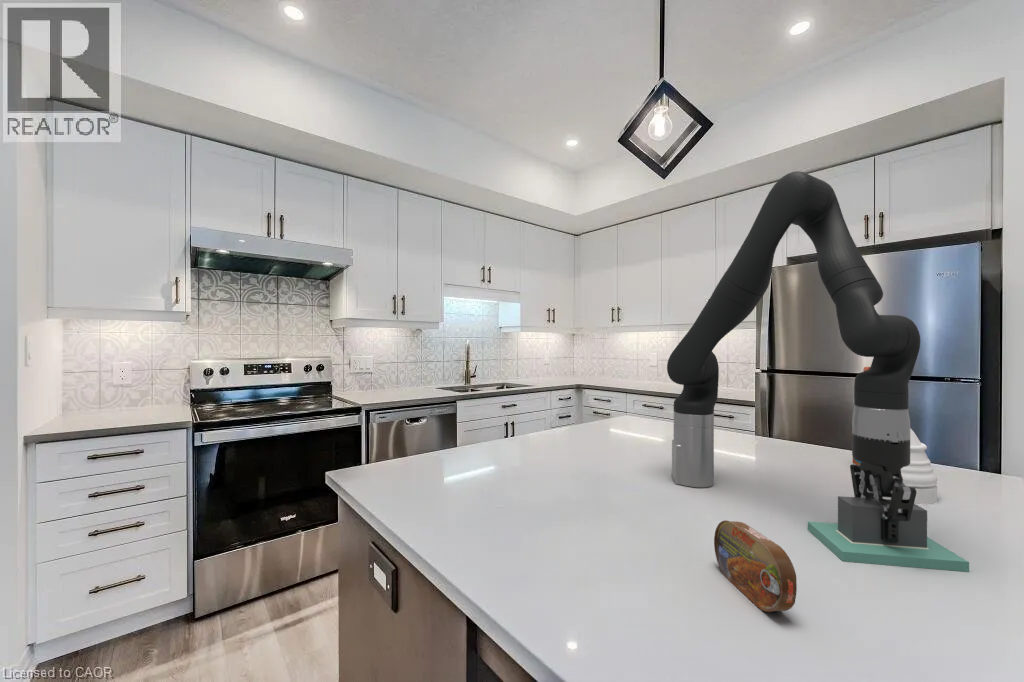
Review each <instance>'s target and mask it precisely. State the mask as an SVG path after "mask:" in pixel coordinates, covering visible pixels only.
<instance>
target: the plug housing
mask: <svg viewBox="0 0 1024 682" xmlns="http://www.w3.org/2000/svg"><path fill="white" fill-rule="evenodd" d="M887 500H891V499H887ZM889 505H890V504H888V505H887V511H888V510H889ZM902 511H903V509H901V513H902ZM837 523H838V531H839V532H840V533H842V534H843V535H844V536H846V537H847V538H848V539H849V540H851V541H852V542H857V543H870V544H883V545H896V546H909V547H921V548H927V537H928V510H927V509H925V508H923V507H921V506H919V505H918V504H914V505H913V509H912V513H911V518H910V521H899V532H898V533H899V539H898V543H886V542H884V541H882V540H881V514H880V507H879V504H877V503H876V502H875V498H868V499H865V498H859V497H855V496H841V495H839V496H837Z"/></svg>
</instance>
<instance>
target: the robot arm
mask: <svg viewBox="0 0 1024 682" xmlns="http://www.w3.org/2000/svg"><path fill="white" fill-rule="evenodd" d="M792 224H793V225H795V226H798V227H800V228H801V229H802V231H803V232H804V233H805V234H806V235H807V236H808V238H809V239H810V241H811V242H812V243H813V246H814V248H815V251H816V256H817V257H816V258H817V267H818V268H817V269H818V273H819V276H820V279H821V281H822V283H823V285H824V287H825V288H826V291H827V293H828V295H829V296H830V298H831V300H832V302H833V303H834V305H835V310H836V318H837V323H838V328H839V329H838V330H839V333H840V337H841V340H842V342H843V343H844V345H845V346H846V347H847V348H848V349H849V350H850V351H851V352H852V353H854V354H855V355H857V356H860V357H866V358H867V357H868V358H871V357H872V361H871V364H870V366H869V367H870V368H869V369H868V370H866V371H863V370H862V372H859V373H857V374H856V376H855V377H854V381H853V382H854V385H853V386H854V387H853V392H854V393H853V399H854V402H853V412H852V420H851V421H852V423H851V424H852V426H851V428H852V429H851V430H852V431H851V432H852V433H851V434H852V437H851V441H852V442H851V446H852V447H851V453H852V454H851V455H852V459H853V458H854V459H856V460H858V461H860V462H861V463H860V465H853V463H852V464H850V466H849V469H850V474H851V475H850V476H851V482H852V487H853V488H852V489H853V494H854V496H853V497H859V498H865V499H868V498H875V502H876V503H877V504H879V507H880V514H881V540H882V541H884V542H886V543H898V539H899V533H898V532H899V521H910V518H911V513H912V509H913V505H914V501H915V497H916V489H915V488H914V487H907V486H906V485H905V484H904V483H903V478H902V475H901V468H903V467H906V466H908V465H909V464H910V428H911V419H910V413H909V382H910V380H911V377H912V374H913V372H914V369H915V366H916V364H917V363H916V362H917V359H918V356H919V353H920V349H921V335H920V330H919V328H918V326H917V325H916V323H915V322H914V321H913V320H912V319H910V318H909V317H906V316H904V315H898V314H896V315H895V314H879V313H878V312H877V311H876V308H875V306H876V305H878V304H879V303H880V302H881V301H882V299H883V297H884V292H883V288H882V285H881V284H880V283H879V282H878V280H877V278H876V276H875V274H874V273H873V271H872V269H871V268H870V267H869V265H868V263H867V261H866V260H865V259H864V257H863V255H862V254H861V251H860V249H858V247H857V244H856V243H855V241H854V239H853V237H852V234H851V232H850V230H849V228H848V226H847V223H846V220H845V218H844V215H843V212H842V210H841V207H840V202H839V201H838V197H837V195H836V192H835V190H834V189H833V187H832V186H831V185H830V184H829V183H827V182H826V181H824V180H822V179H820V178H817V177H815V176H813V175H811V174H809V173H806V172H803V171H797V170H796V171H792V172H789V173H787V174H784V175H783V176H782V177H781V178H779V179H778V180H777V182H776V183H774V185H773V186H772V187H771V189H770V190H769V192H768V194H767V196H766V197H765V200H764V201H763V204H762V206H761V208H760V210H759V211H758V214H757V216H756V217H755V220H754V221H753V224H752V226H751V228H750V230H749V232H748V234H747V235H746V237H745V239H744V241H743V242H742V244H741V246H740V248H739V250H738V251H737V253H736V254H735V257H734V258H733V260H732V261H731V262H730V265H729V266H728V267H727V269H726V270H725V272H724V273H723V276H722V277H721V278H720V280H719V282H718V283H717V285H716V286H715V288H714V290H713V292H712V294H711V295H710V297H709V298H708V300H707V302H706V304H705V305H704V307H703V308H702V310H701V311H700V313H699V314H698V317H697V318H696V319H695V321H694V323H693V324H692V326H691V327H690V328H689V330H688V331H687V332H686V334H685V335H684V336H683V338H682V339H681V340H680V342H679V343H678V344H677V345H676V347H675V348H674V349H673V350H672V352H671V354H670V355H669V357H668V360H667V365H666V371H667V375H668V377H669V379H670V381H672V382H673V383H675V384H677V385H681V386H683V387H682V391H681V393H680V394H679V396H677V397H676V398H675V399H674V400H673V439H672V440H671V478H672V481H674V484H675V485H682V486H685V487H686V486H687V487H692V488H710V487H713V486H714V483H715V413H714V412H715V406H716V404H717V401H718V397H719V376H720V375H719V373H720V371H719V370H720V367H719V362H718V358H717V356H716V354H715V353H714V352H713V351H714V349H715V347H716V346H717V345H718V344H719V342H720V341H721V340H722V339H723V338H724V337H726V336H727V335H728V334H729V333H730V332H731V331H733V330H734V329H735V328H736V327H737V326H739V325H740V324H741V323H742V322H743V321H745V320H746V318H748V317H749V316H750V315H751V313H752V312H753V311H754V309H755V308H756V307H757V305H758V304H759V302H760V301H761V299H762V298H763V296H764V295H765V293H766V291H767V290H768V288H769V285H770V282H771V278H772V273H773V265H774V257H775V253H776V251H777V248H778V245H779V243H780V242H781V240H782V238H783V237H784V236H785V234H786V232H788V231H787V230H788V229H789V228H790V226H791V225H792ZM854 404H855V405H854ZM882 497H891V500H887V499H883V498H882ZM888 504H890V505H889V510H888V511H887V505H888ZM901 509H903V511H902V513H901Z"/></svg>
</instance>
